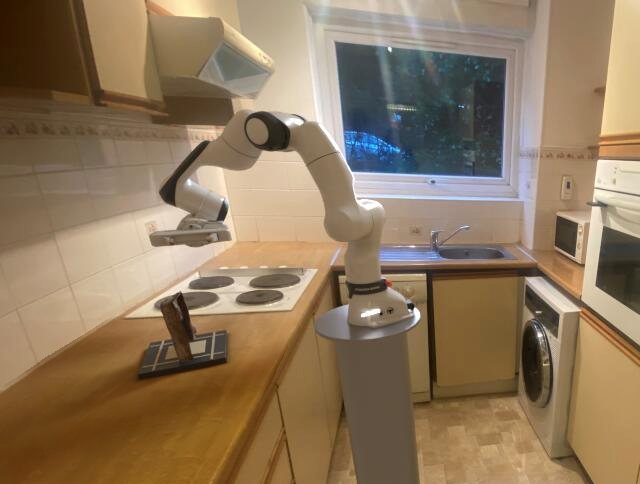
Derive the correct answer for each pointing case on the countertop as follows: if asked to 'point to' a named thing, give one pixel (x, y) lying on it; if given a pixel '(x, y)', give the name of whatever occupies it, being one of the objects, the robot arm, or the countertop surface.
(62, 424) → the countertop surface
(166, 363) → the board
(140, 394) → the countertop surface
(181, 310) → the mineral sample
